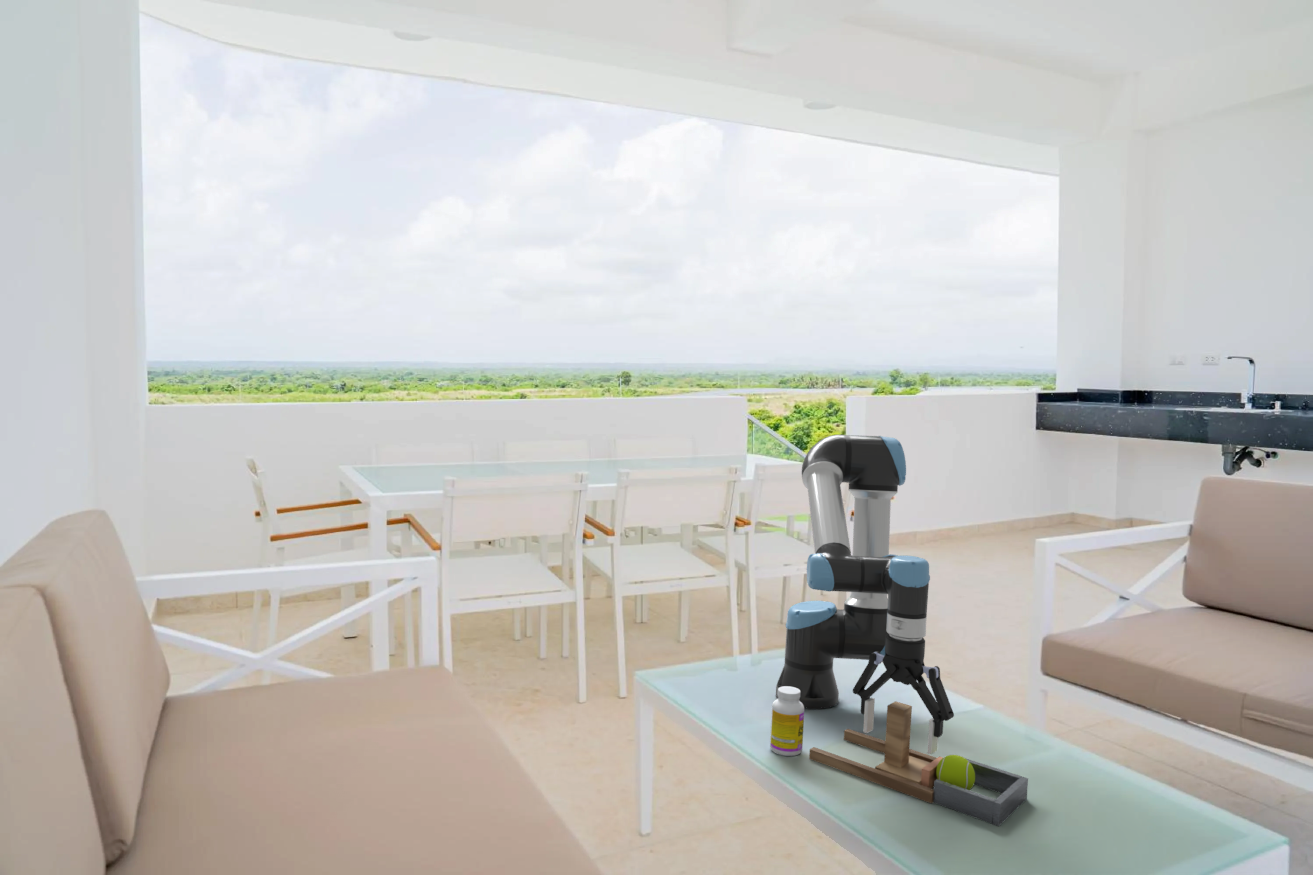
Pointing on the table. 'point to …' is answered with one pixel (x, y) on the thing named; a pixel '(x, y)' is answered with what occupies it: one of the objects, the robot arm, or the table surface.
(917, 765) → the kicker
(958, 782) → the tennis ball
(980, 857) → the table surface
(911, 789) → the track rails
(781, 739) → the supplement bottle
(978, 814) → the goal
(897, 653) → the robot arm
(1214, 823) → the table surface
